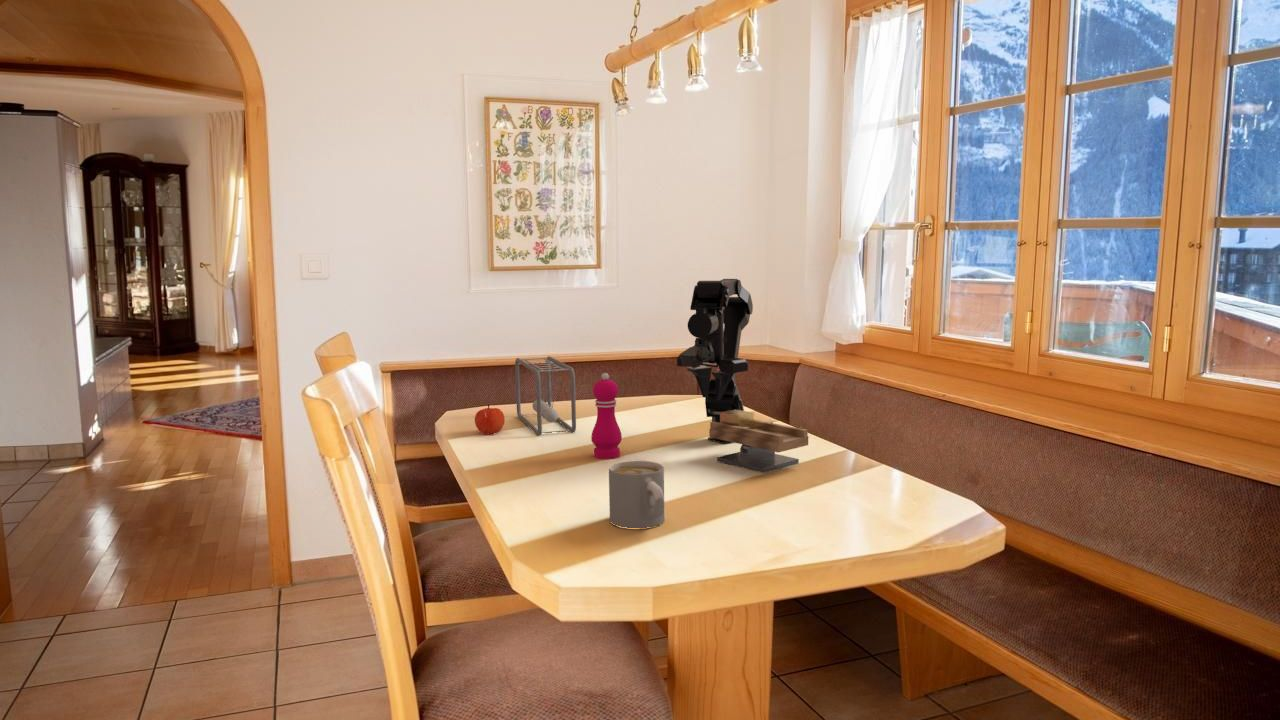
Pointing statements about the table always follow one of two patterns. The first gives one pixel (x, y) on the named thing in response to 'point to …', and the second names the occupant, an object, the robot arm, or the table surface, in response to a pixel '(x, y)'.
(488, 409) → the apple
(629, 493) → the coffee mug
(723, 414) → the tan wooden block
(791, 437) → the wooden tray
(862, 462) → the table surface
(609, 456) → the pepper mill
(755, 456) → the fulcrum stand
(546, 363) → the newton's cradle
